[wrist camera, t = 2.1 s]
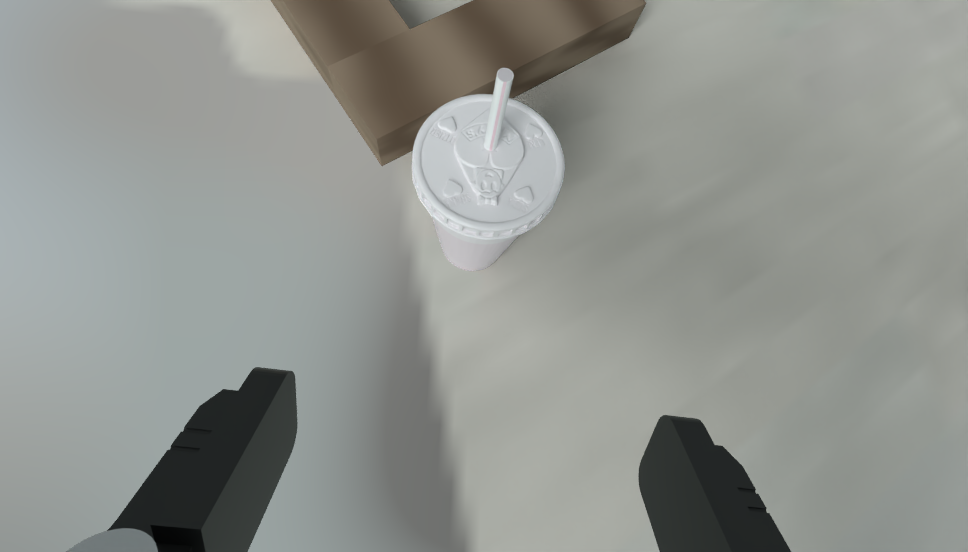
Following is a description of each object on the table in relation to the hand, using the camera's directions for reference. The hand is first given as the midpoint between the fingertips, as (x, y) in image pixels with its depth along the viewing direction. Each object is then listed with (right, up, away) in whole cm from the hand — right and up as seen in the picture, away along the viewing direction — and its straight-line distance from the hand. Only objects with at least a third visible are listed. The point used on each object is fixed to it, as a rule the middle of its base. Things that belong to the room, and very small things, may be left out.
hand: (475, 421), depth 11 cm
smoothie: (-1, +5, +19) cm, 19 cm away
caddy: (-3, +23, +23) cm, 33 cm away
